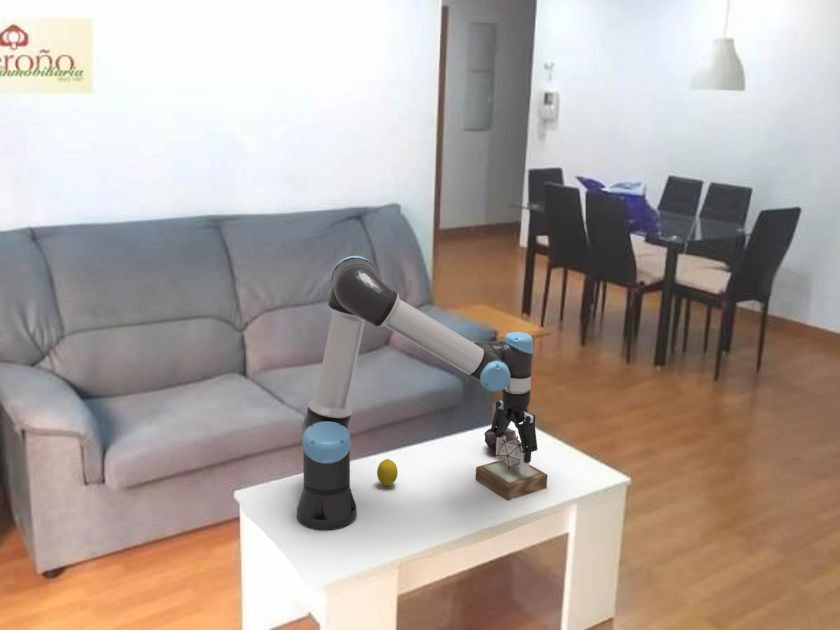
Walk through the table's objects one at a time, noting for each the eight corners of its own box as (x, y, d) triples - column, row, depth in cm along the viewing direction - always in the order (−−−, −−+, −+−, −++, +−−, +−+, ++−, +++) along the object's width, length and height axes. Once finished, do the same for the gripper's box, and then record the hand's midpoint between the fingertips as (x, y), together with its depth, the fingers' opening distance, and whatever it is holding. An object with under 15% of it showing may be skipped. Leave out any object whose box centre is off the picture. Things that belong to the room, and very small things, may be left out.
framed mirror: (507, 500, 231) (508, 485, 230) (475, 480, 242) (476, 466, 241) (546, 487, 239) (547, 473, 237) (513, 468, 250) (514, 455, 248)
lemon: (385, 492, 233) (385, 465, 231) (372, 484, 237) (373, 458, 235) (401, 486, 237) (401, 460, 235) (388, 479, 241) (389, 453, 239)
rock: (499, 448, 267) (476, 455, 260) (498, 421, 265) (475, 428, 259) (528, 454, 258) (505, 463, 251) (526, 427, 257) (503, 434, 250)
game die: (505, 479, 239) (484, 453, 236) (516, 459, 245) (496, 433, 242) (530, 473, 233) (509, 446, 230) (540, 452, 239) (520, 425, 236)
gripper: (555, 399, 226) (549, 477, 232) (500, 375, 244) (497, 448, 250) (533, 404, 222) (528, 484, 228) (480, 379, 239) (476, 453, 245)
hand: (512, 465), depth 239 cm, fingers closed on game die, 9 cm apart
